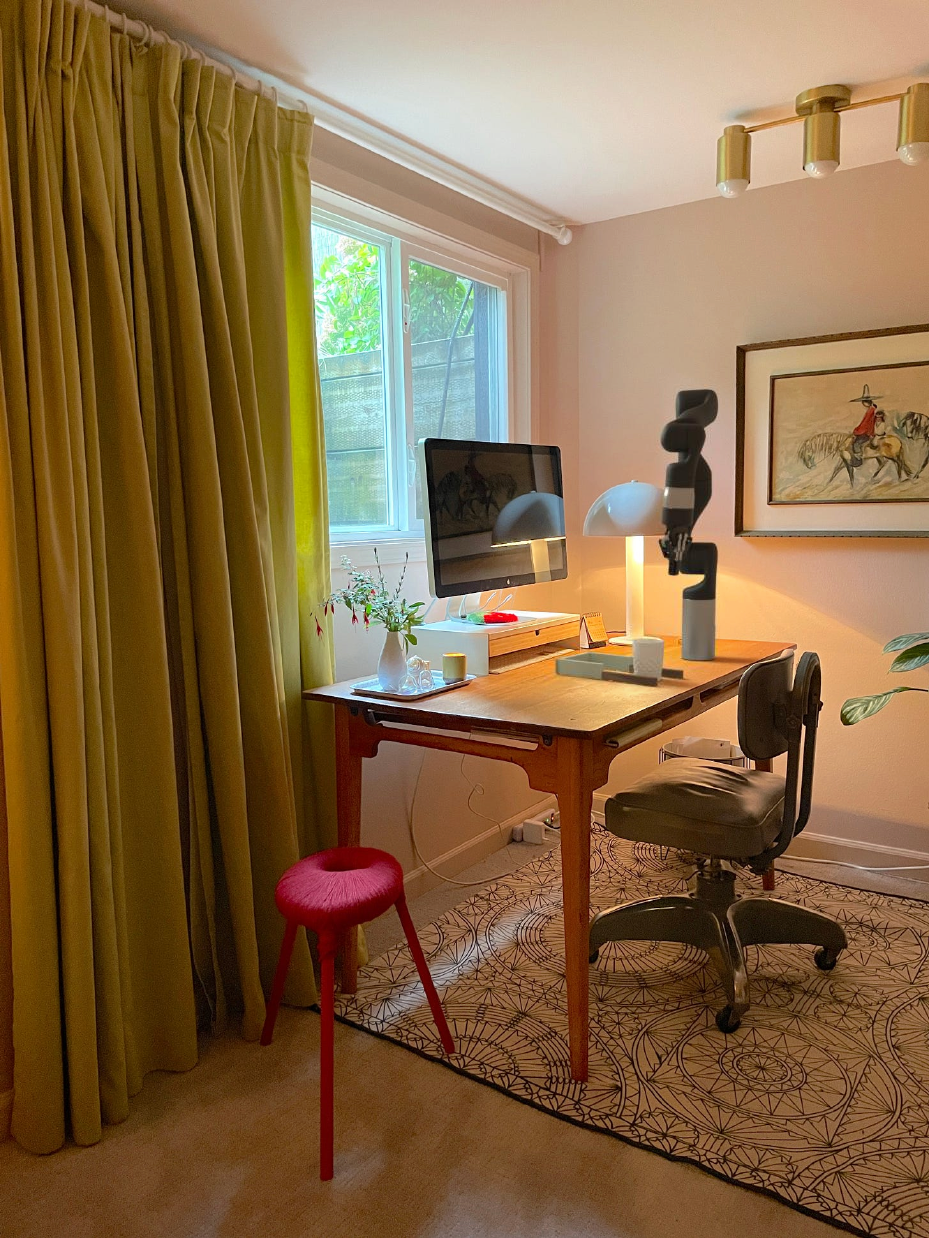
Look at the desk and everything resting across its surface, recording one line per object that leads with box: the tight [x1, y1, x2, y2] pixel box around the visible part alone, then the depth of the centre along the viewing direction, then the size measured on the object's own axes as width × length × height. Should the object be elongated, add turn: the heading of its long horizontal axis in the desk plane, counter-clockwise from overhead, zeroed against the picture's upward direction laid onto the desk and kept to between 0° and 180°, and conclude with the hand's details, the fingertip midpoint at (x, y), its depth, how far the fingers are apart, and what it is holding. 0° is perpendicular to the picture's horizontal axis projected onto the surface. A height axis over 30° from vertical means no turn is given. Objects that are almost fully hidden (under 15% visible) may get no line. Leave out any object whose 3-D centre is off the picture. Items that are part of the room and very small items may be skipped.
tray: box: [555, 651, 633, 681], centre depth 248 cm, size 15×14×4 cm
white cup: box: [631, 638, 665, 682], centre depth 237 cm, size 8×8×10 cm
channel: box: [601, 665, 684, 687], centre depth 239 cm, size 15×15×2 cm
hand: (673, 575), depth 236 cm, fingers closed
